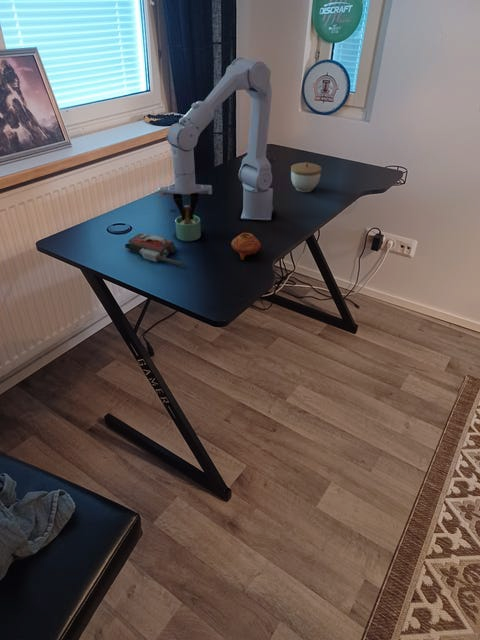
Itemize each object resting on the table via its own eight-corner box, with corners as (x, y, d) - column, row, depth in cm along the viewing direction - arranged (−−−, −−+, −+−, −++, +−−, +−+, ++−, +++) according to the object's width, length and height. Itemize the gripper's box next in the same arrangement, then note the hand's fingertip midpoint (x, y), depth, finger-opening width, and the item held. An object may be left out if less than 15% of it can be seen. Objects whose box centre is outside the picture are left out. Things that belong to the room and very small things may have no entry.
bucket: (202, 230, 137) (202, 215, 134) (198, 241, 131) (197, 225, 128) (179, 229, 138) (178, 214, 135) (174, 240, 132) (172, 224, 129)
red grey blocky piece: (120, 253, 126) (181, 270, 118) (117, 239, 123) (180, 255, 116) (139, 240, 132) (198, 256, 125) (137, 226, 129) (198, 241, 122)
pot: (223, 255, 124) (226, 231, 121) (243, 252, 130) (246, 228, 127) (245, 264, 120) (249, 239, 117) (264, 260, 125) (268, 236, 122)
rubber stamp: (195, 226, 136) (194, 202, 131) (196, 233, 132) (195, 208, 128) (180, 227, 135) (178, 203, 131) (180, 234, 132) (178, 209, 127)
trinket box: (315, 196, 160) (318, 169, 154) (286, 192, 163) (287, 165, 157) (322, 185, 168) (325, 159, 162) (293, 182, 171) (295, 156, 165)
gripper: (209, 165, 127) (211, 211, 135) (157, 167, 126) (162, 214, 134) (211, 174, 122) (213, 221, 130) (157, 176, 120) (162, 224, 128)
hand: (187, 218), depth 131 cm, fingers closed on rubber stamp
